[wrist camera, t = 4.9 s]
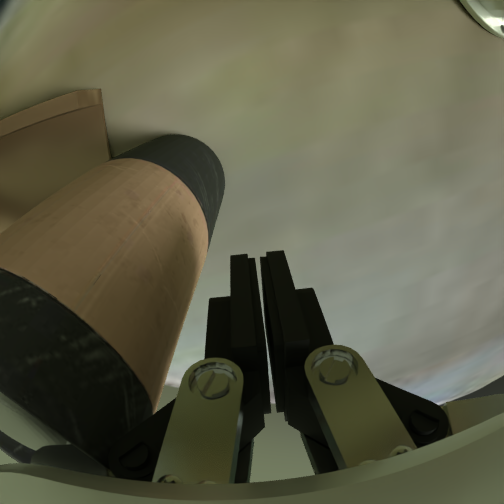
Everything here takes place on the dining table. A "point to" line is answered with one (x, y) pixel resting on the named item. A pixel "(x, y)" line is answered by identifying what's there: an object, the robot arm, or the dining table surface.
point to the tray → (49, 150)
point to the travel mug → (102, 296)
